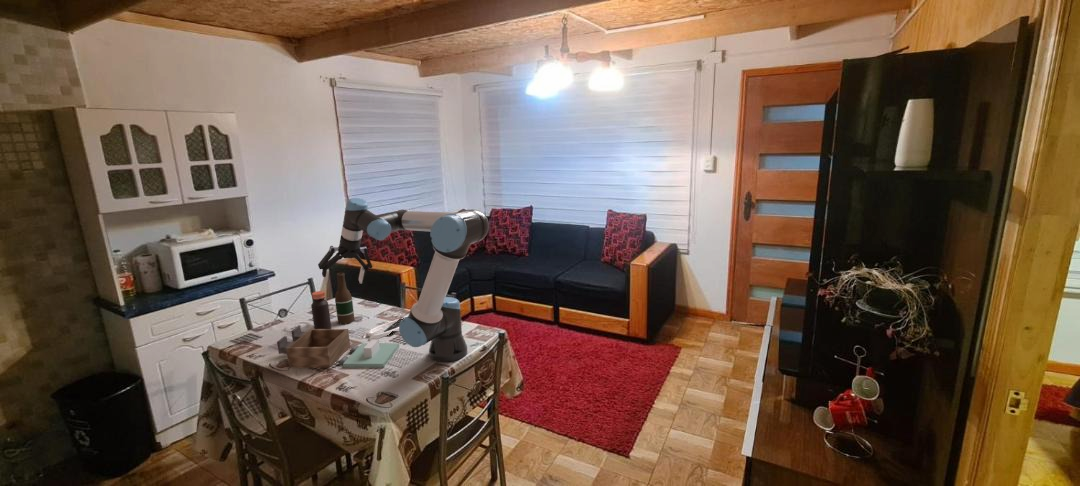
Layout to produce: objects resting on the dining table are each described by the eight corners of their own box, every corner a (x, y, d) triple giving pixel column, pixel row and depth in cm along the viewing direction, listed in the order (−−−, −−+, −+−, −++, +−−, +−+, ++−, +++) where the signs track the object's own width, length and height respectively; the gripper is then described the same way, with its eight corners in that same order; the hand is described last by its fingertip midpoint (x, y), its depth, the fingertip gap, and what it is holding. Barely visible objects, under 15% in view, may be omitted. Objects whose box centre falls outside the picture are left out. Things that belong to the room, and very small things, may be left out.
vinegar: (322, 331, 213) (317, 289, 208) (335, 333, 211) (330, 290, 206) (312, 337, 206) (305, 294, 202) (324, 339, 204) (319, 295, 200)
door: (399, 346, 196) (398, 334, 195) (383, 367, 178) (382, 354, 177) (356, 346, 197) (354, 334, 195) (336, 367, 179) (334, 353, 178)
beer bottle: (340, 319, 227) (334, 271, 222) (356, 318, 228) (351, 270, 223) (335, 325, 220) (329, 276, 214) (352, 324, 221) (346, 275, 215)
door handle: (419, 324, 220) (372, 343, 201) (406, 319, 226) (359, 337, 207) (419, 318, 220) (372, 337, 200) (406, 314, 225) (359, 331, 206)
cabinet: (350, 346, 197) (347, 324, 194) (330, 367, 179) (326, 343, 177) (303, 346, 197) (299, 324, 195) (278, 367, 180) (274, 343, 178)
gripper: (380, 232, 192) (371, 276, 200) (314, 230, 177) (307, 278, 185) (386, 241, 187) (376, 286, 195) (318, 240, 172) (311, 288, 180)
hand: (343, 282), depth 190 cm, fingers open, 13 cm apart
